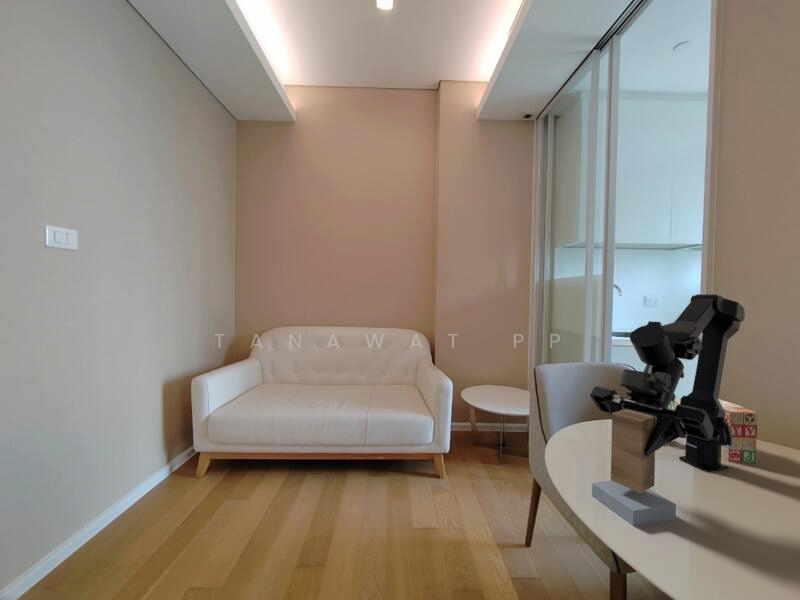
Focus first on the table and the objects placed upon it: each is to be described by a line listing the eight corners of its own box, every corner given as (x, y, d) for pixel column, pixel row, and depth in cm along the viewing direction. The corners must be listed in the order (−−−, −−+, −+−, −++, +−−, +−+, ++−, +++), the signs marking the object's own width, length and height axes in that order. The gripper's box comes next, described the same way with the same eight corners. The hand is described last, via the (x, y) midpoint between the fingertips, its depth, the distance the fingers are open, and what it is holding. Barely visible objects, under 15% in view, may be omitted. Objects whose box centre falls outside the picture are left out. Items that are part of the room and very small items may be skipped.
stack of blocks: (666, 428, 104) (666, 387, 104) (688, 429, 104) (689, 388, 104) (729, 462, 83) (730, 410, 83) (757, 463, 82) (758, 411, 82)
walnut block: (624, 473, 67) (625, 408, 67) (654, 485, 63) (655, 416, 63) (610, 480, 65) (612, 413, 65) (640, 493, 60) (642, 421, 60)
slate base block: (630, 493, 69) (630, 477, 69) (675, 521, 61) (675, 504, 61) (591, 498, 67) (592, 482, 67) (632, 528, 59) (633, 510, 59)
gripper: (595, 347, 74) (563, 407, 68) (708, 362, 58) (678, 442, 52) (614, 380, 78) (585, 439, 72) (724, 402, 62) (698, 480, 56)
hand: (629, 448), depth 63 cm, fingers closed on walnut block, 5 cm apart
